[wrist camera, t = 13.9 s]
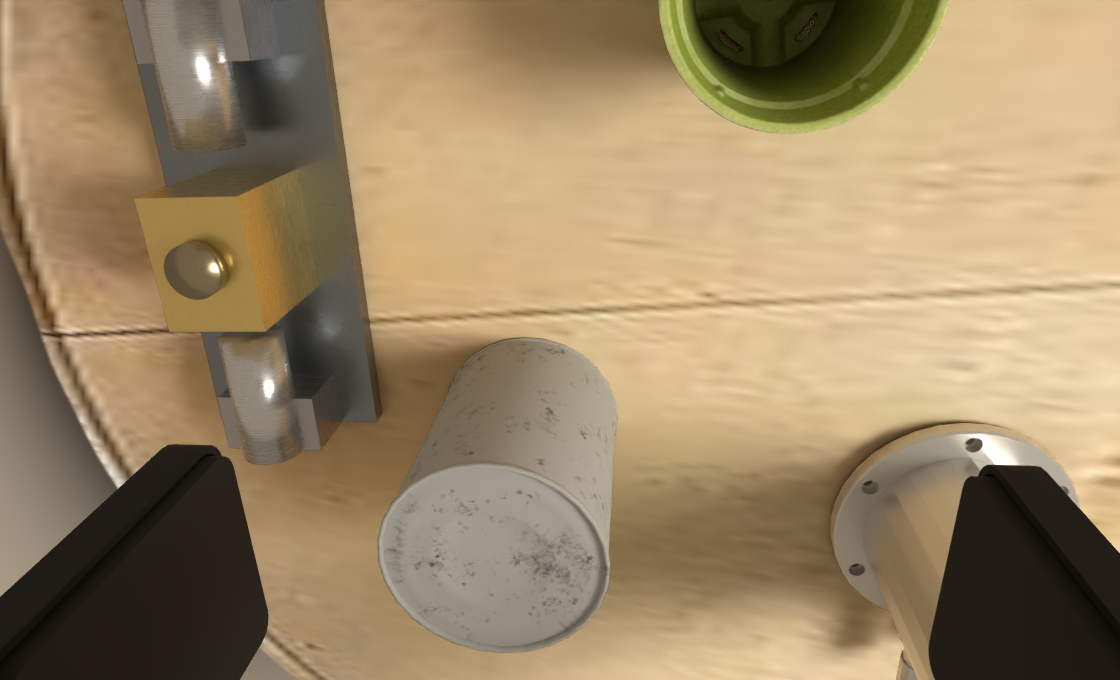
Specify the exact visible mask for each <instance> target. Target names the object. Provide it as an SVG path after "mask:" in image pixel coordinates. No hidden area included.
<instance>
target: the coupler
mask: <svg viewBox="0 0 1120 680" xmlns="http://www.w3.org/2000/svg"><path fill="white" fill-rule="evenodd" d="M134 201H135V205H136V208H137V212H138V216H139V220H140V223H141V227H142V231H143V235H144V238H145V242H146V246H147V250H148V253H149V257H150V261H151V265H152V268H153V272H154V276H155V279H156V283H157V287H158V291H159V294H160V298H161V302H162V306H163V309H164V313H165V317H166V321H167V324H168V328H169V332H266V331H267V330H268V329H269V328H270V327H271V326H273V325H274V324H275V323H276V322H277V321H278V320H280V319H281V318H282V317H283V316H284V315H285V314H287V313H288V312H289V311H290V310H291V309H292V308H294V307H295V306H296V305H297V304H298V303H299V302H301V301H302V300H303V299H304V298H305V297H306V296H308V295H309V294H310V293H311V292H312V291H313V290H315V289H316V288H317V287H318V282H317V276H316V271H315V265H314V259H313V254H312V248H311V242H310V237H309V231H308V226H307V220H306V214H305V209H304V203H303V197H302V192H301V186H300V180H299V175H298V169H264V170H222V171H207V172H204V173H202V174H199V175H196V176H194V177H191V178H188V179H186V180H183V181H180V182H177V183H175V184H172V185H169V186H167V187H164V188H161V189H158V190H156V191H153V192H150V193H148V194H145V195H142V196H139V197H137V198H134Z"/></svg>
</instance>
